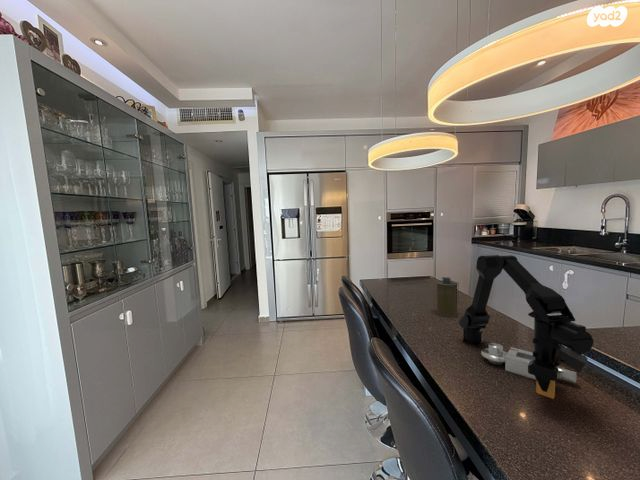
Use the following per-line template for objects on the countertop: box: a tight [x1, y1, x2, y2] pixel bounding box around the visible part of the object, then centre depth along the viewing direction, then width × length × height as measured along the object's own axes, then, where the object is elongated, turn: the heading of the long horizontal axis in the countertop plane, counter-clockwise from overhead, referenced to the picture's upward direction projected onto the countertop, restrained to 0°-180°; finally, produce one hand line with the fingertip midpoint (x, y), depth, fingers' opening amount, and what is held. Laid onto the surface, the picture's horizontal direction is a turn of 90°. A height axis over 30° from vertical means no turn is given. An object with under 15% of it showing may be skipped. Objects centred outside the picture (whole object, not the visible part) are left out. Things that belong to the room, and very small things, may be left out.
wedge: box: [535, 380, 556, 400], centre depth 79 cm, size 4×2×8 cm, turn 45°
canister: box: [436, 276, 460, 318], centre depth 146 cm, size 11×10×20 cm
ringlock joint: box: [480, 342, 577, 384], centre depth 91 cm, size 26×9×6 cm, turn 45°
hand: (545, 387), depth 79 cm, fingers open, 5 cm apart
